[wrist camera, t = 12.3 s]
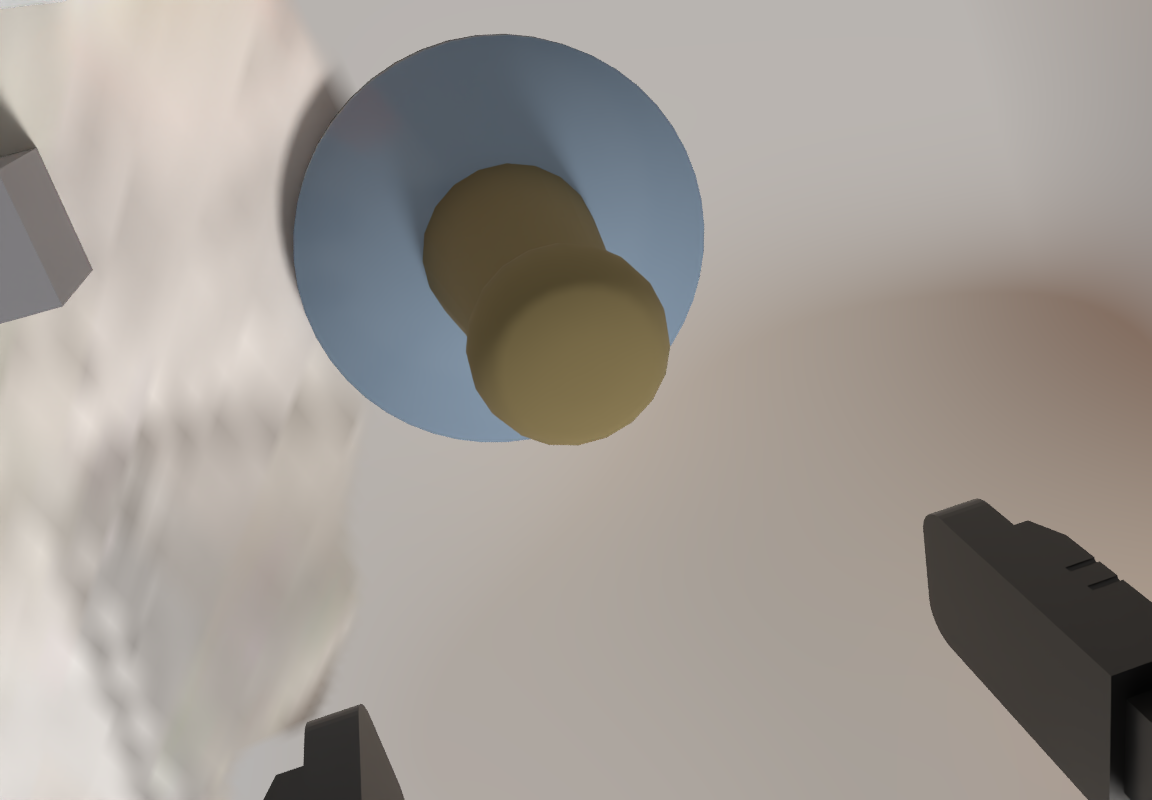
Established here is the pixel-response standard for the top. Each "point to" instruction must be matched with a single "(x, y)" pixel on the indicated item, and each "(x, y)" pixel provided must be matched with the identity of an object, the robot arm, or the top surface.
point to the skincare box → (24, 3)
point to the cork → (544, 306)
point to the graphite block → (35, 240)
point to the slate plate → (445, 157)
